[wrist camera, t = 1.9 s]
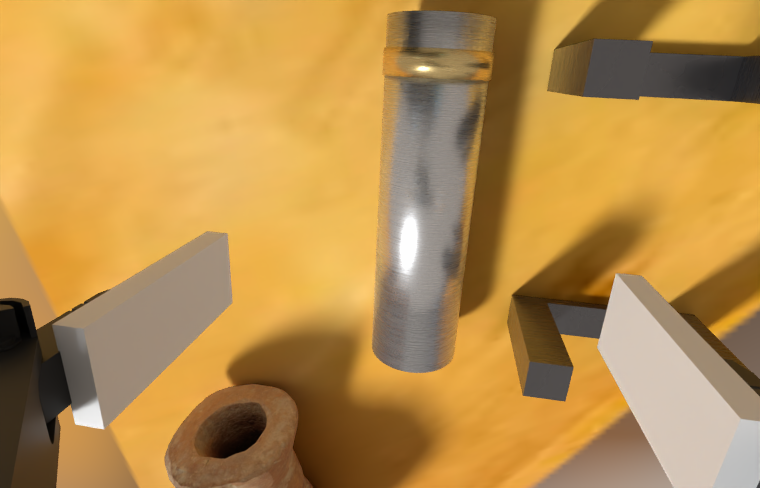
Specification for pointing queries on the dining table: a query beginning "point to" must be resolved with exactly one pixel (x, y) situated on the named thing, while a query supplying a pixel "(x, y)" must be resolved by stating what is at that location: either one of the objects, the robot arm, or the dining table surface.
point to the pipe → (238, 442)
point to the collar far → (546, 348)
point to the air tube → (427, 180)
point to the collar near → (651, 73)
